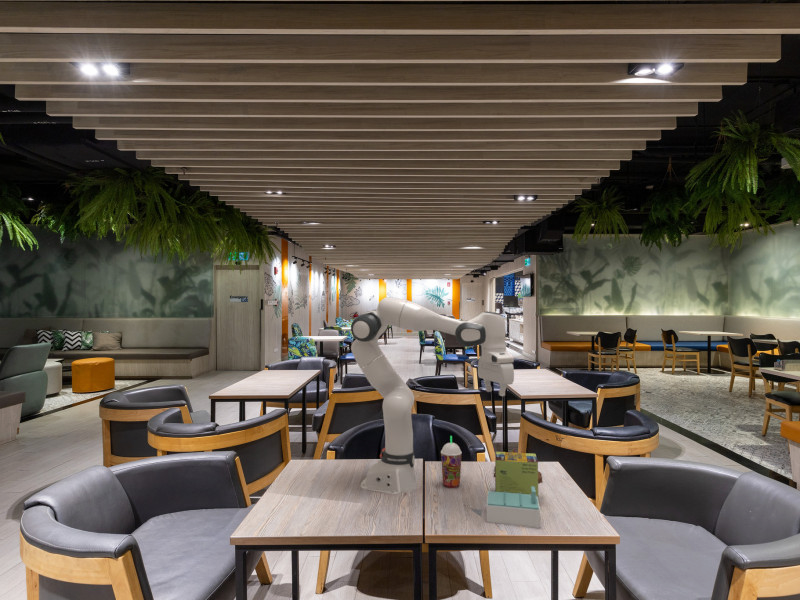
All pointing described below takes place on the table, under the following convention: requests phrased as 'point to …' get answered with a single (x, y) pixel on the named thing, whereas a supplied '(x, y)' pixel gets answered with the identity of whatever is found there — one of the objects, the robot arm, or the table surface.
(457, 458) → the smoothie
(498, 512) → the tub
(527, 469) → the protein box
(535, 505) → the lid
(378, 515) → the table surface
